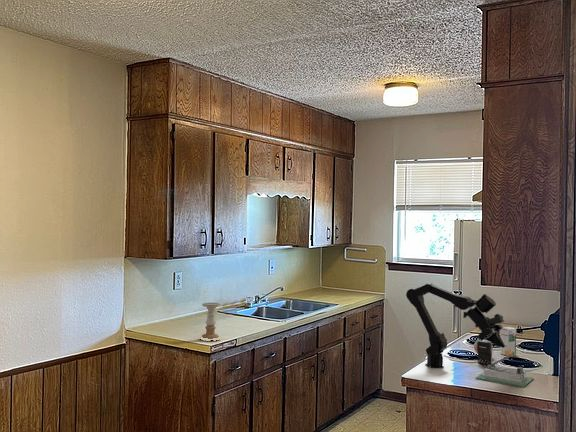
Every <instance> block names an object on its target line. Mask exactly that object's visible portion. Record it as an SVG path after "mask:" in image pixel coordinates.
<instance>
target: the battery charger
mask: <svg viewBox="0 0 576 432" xmlns="http://www.w3.org/2000/svg"><path fill="white" fill-rule="evenodd" d="M479 340H480V339H479ZM477 351H478V354H477V364H480V365H485V366H487V365H491V363H493V351H494V350H493V343H492V342H490V341H485V340H482V341H481V340H480V341H478V343H477Z"/></svg>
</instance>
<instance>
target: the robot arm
mask: <svg viewBox="0 0 576 432" xmlns="http://www.w3.org/2000/svg"><path fill="white" fill-rule="evenodd" d="M427 294H432V295H433V296H436V297H438V298H441V299H443V300H445V301H448V302H450V303H451V304H452V305H454V307H456V308H457V309H459V310H461V311H463V317H462V318H463V319H467V318H469V319H470V321H472V322H473V323H474V324H475V325H474V327H475V328H478V329H479V330H480V331H481V332H480V333H478V338H477V339H478V340H481V341H482V340H484V339H486V340H488V341H490V342H491V343H492V344H494V345H496V346H498V347H502V348H504V347H505V345H504V343H503V341H502V339H501V329H502V328H503V327H504V326H502V323H504V322H505V320H504V316H503V315H502V314H500V313H497V314H494V317H491V318H490V317H489V316H485V315H484V313H486V314H487V313H489V312H490V311H491V310H492V309H493V308H494V307H495V306H496V305H497V303H496V301H495V300H494V299H493V298H491V296H489V295H487V294H485V293H483V295H481V297H480V298H479V299H478V300H474V299H472V298H471V297H470V296H468V295H467V296H466V295H462V294H456V293H453V292H452V291H448V290H446V289H443V288H441V287H438V286H437V285H435V284H433V283H426V284H424V285H422V286H419V287H417V288H409V289H408V290H407V291H406V294H405V295H406V296H405V297H406V298H407V300H408V302H409V303H410V304H411V305H412V306H413V307H414V308H415V310H416V311H417V314H418V316H419V317H420V320H421V322H422V324H423V326H424V328H425V330H426V332H427V334H428V341H429V346H428V347H427V348H426V349H425V351H426V354H427V355H426V356H427V359H426V363H424V365H425V366H427V367H430V368H432V369H437V368H439V369H443V368H444V367H445V366H444V356H443V353H444V350H446V349H447V347H448V339H447V338H446V336H445V333H444V332H441V333H440V332H439V330H437V326H436V325H435V323H434V321H433V318H432V317H431V315H430V313H429V311H428V309H427V307H426V304H425V297H424V296H426V295H427ZM472 307H474V308H472ZM466 310H467V311H466Z"/></svg>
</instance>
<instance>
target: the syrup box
mask: <svg viewBox="0 0 576 432" xmlns="http://www.w3.org/2000/svg"><path fill="white" fill-rule="evenodd" d="M502 327H503V328H502V329H501V330H500V337H501V339H502V341H503V343H504V345H505V347H504V348H502V347H500V346H499V347H500V351H499V353H500V355H503V356H505V357H506V356H507V355H506V354H505V351H506V350H508V349H510V350H511V352H512V353H513V356H516V355H517V328H516V327H512V326H506V327H505V326H502Z"/></svg>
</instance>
